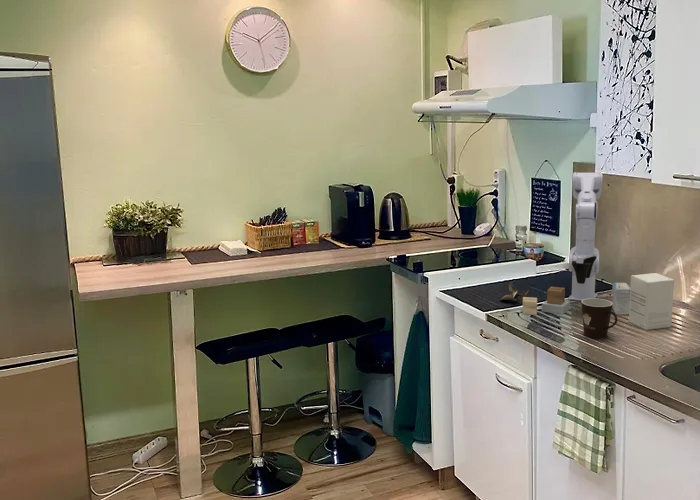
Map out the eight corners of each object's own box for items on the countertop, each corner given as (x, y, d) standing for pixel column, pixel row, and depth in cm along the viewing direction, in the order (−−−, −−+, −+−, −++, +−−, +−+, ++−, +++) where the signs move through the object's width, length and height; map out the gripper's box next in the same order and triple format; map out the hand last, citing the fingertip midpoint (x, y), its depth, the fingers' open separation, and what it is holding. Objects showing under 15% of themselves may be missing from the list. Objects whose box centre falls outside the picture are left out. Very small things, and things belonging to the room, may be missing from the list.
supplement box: (653, 318, 219) (656, 272, 216) (672, 327, 211) (675, 279, 208) (627, 321, 218) (630, 274, 214) (645, 330, 209) (648, 281, 206)
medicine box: (629, 315, 223) (631, 289, 222) (615, 314, 224) (616, 288, 222) (625, 307, 231) (626, 282, 229) (611, 307, 232) (612, 282, 230)
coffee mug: (576, 330, 211) (577, 298, 209) (605, 330, 210) (607, 298, 208) (588, 343, 199) (589, 310, 197) (618, 343, 199) (620, 309, 197)
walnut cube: (550, 299, 234) (551, 286, 233) (564, 301, 231) (564, 287, 230) (547, 303, 230) (547, 290, 229) (561, 304, 228) (561, 291, 227)
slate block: (548, 306, 236) (549, 298, 235) (569, 309, 232) (570, 301, 231) (541, 312, 230) (542, 303, 229) (563, 315, 226) (563, 306, 226)
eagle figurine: (531, 297, 241) (510, 288, 248) (527, 284, 237) (506, 275, 243) (518, 313, 239) (497, 303, 245) (514, 299, 234) (493, 289, 240)
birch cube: (522, 310, 232) (523, 297, 231) (536, 310, 231) (537, 297, 230) (522, 314, 228) (522, 301, 227) (536, 315, 227) (537, 301, 226)
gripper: (593, 244, 215) (591, 287, 218) (602, 236, 228) (600, 276, 231) (570, 242, 219) (568, 284, 222) (580, 234, 231) (578, 274, 234)
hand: (583, 280), depth 226 cm, fingers open, 7 cm apart
